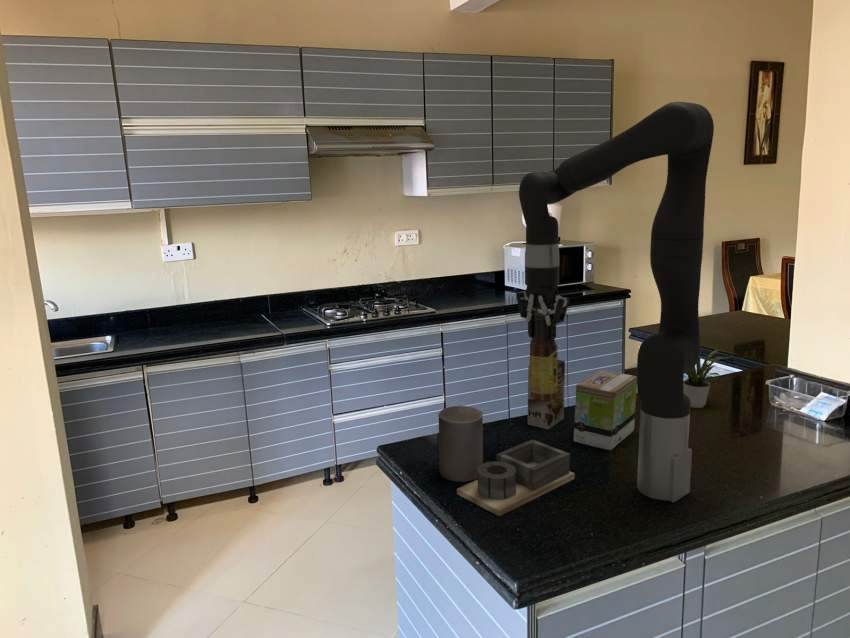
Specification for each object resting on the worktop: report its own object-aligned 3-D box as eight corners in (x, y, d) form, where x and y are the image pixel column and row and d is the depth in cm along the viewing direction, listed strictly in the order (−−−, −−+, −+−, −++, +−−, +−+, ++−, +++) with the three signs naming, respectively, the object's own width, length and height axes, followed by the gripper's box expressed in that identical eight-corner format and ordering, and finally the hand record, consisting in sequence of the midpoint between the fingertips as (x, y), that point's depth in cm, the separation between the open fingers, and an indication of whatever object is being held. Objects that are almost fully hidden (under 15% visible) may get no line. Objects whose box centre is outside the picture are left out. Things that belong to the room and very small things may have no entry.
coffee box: (549, 430, 163) (550, 369, 160) (526, 425, 167) (527, 365, 164) (565, 419, 170) (566, 360, 167) (542, 414, 174) (543, 356, 171)
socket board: (574, 478, 137) (575, 453, 136) (499, 516, 123) (499, 489, 122) (531, 460, 146) (531, 437, 145) (456, 494, 132) (456, 468, 131)
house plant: (731, 401, 179) (736, 344, 176) (724, 417, 168) (729, 357, 165) (678, 393, 187) (681, 338, 183) (667, 408, 176) (670, 350, 172)
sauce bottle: (559, 402, 145) (560, 316, 141) (532, 403, 145) (531, 317, 141) (554, 392, 152) (555, 310, 147) (528, 393, 152) (527, 311, 148)
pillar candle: (433, 466, 145) (431, 404, 141) (472, 459, 148) (471, 397, 145) (449, 486, 136) (448, 419, 132) (491, 477, 139) (490, 412, 136)
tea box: (612, 452, 150) (615, 391, 146) (572, 442, 156) (573, 384, 152) (635, 430, 161) (638, 374, 158) (597, 422, 167) (598, 368, 164)
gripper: (578, 264, 139) (577, 341, 143) (528, 259, 150) (528, 331, 154) (556, 268, 135) (555, 347, 138) (506, 263, 145) (507, 336, 149)
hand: (541, 338), depth 146 cm, fingers closed on sauce bottle, 4 cm apart
